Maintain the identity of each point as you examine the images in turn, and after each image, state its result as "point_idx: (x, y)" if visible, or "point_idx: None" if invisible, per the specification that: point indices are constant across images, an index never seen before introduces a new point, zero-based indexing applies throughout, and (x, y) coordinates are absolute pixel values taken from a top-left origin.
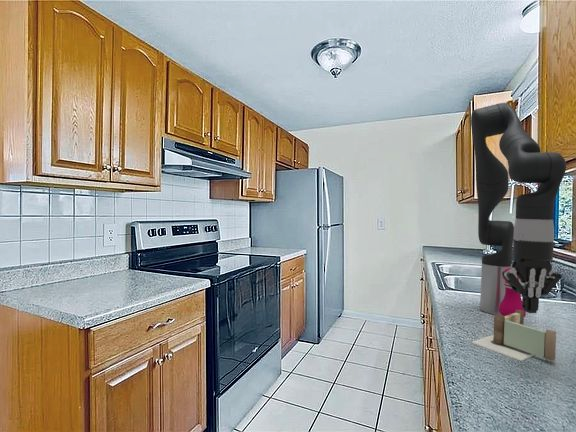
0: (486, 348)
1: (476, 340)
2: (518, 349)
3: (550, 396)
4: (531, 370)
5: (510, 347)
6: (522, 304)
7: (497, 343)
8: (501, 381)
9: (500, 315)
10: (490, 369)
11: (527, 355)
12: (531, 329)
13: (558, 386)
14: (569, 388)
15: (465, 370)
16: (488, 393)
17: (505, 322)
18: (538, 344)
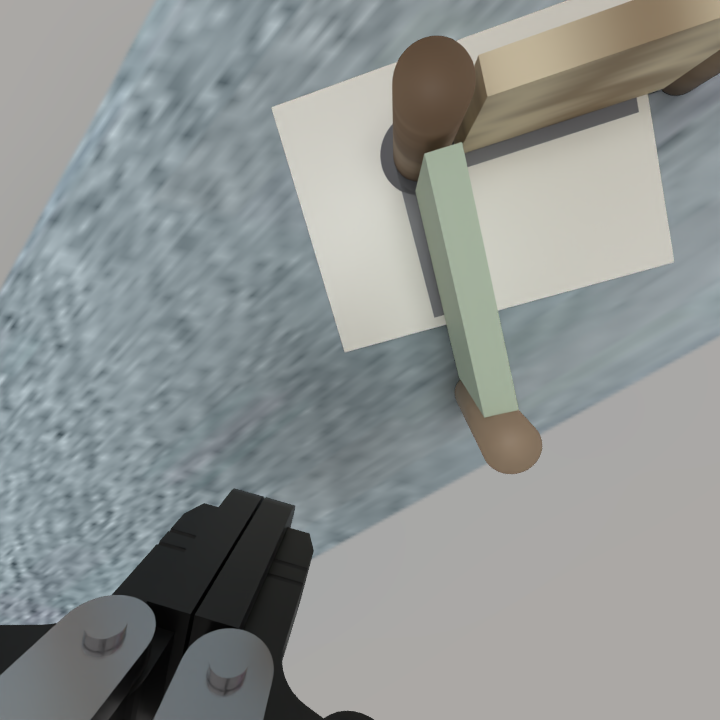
0: (297, 194)
1: (320, 91)
2: None
3: None
4: (309, 423)
5: None
6: (170, 533)
7: (397, 166)
8: (115, 456)
9: (456, 71)
10: (144, 376)
11: (426, 319)
12: (467, 340)
13: None
14: (318, 549)
15: (36, 359)
16: (13, 500)
17: (424, 163)
18: (461, 366)
